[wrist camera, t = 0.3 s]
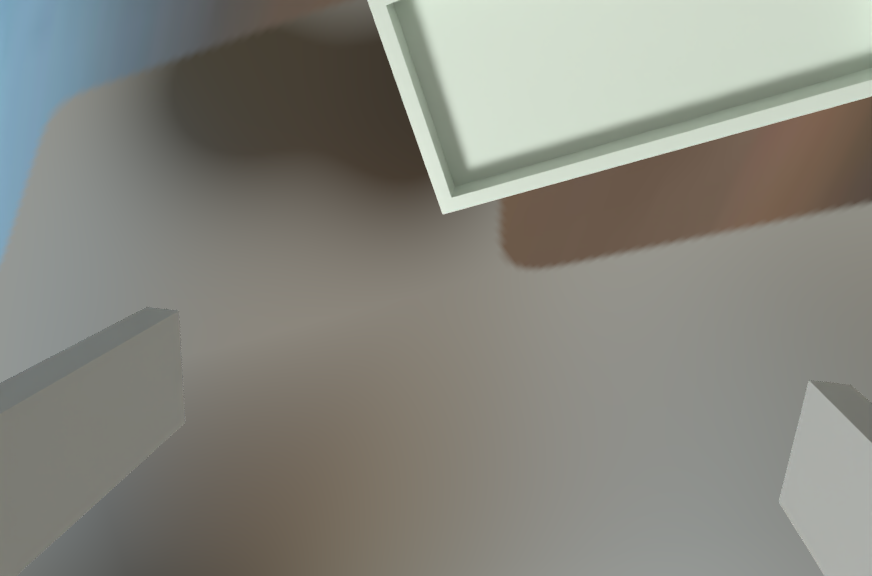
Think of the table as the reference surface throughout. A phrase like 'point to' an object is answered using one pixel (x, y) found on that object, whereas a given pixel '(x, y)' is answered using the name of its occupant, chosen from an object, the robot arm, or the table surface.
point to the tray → (607, 80)
